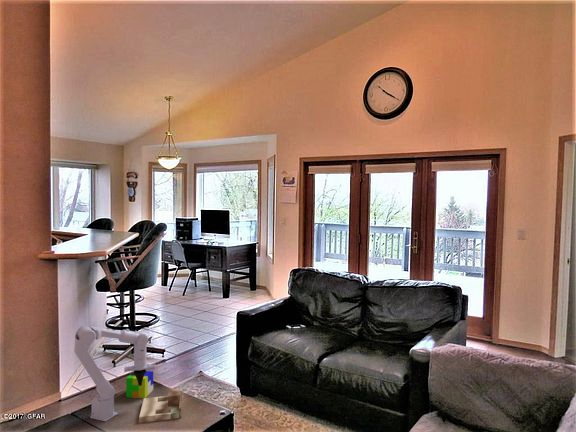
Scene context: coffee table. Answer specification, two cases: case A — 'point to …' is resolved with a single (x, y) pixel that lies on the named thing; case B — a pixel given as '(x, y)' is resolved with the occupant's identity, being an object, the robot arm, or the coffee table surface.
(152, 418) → the trap board
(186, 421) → the coffee table surface
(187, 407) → the coffee table surface
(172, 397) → the block
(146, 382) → the puzzle toy
